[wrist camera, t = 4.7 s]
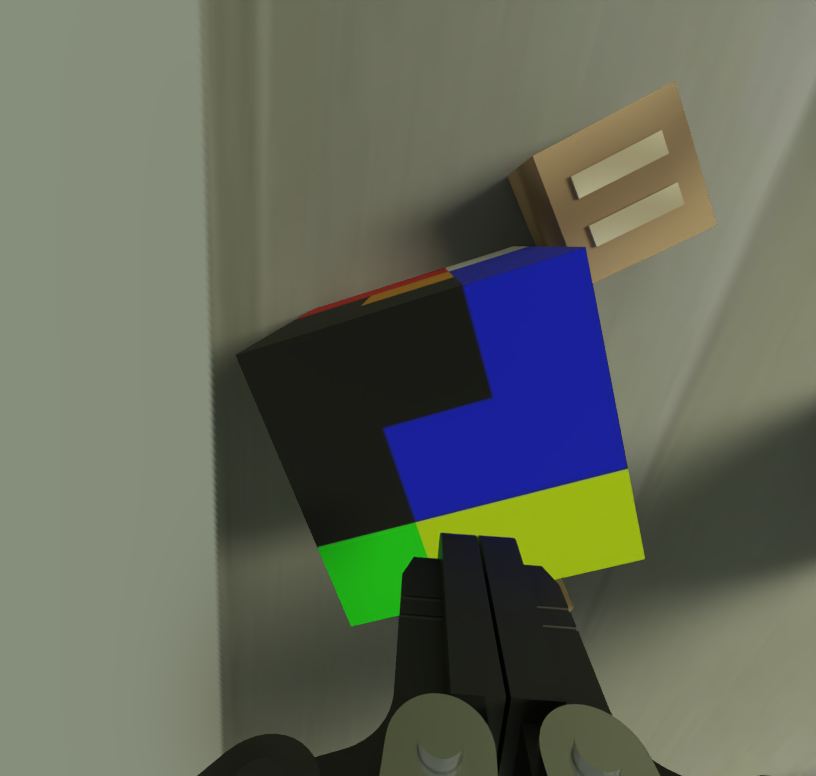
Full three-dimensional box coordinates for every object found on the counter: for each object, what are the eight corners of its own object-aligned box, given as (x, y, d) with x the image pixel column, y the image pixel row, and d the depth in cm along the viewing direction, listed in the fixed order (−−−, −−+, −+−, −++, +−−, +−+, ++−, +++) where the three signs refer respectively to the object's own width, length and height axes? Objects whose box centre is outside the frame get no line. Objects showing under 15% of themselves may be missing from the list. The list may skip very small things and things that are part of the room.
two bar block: (650, 229, 21) (719, 224, 16) (548, 278, 22) (584, 288, 17) (614, 120, 20) (677, 79, 15) (507, 176, 21) (533, 155, 16)
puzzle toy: (513, 246, 22) (585, 246, 12) (557, 436, 24) (645, 559, 15) (313, 308, 23) (235, 355, 13) (377, 483, 25) (351, 626, 16)
